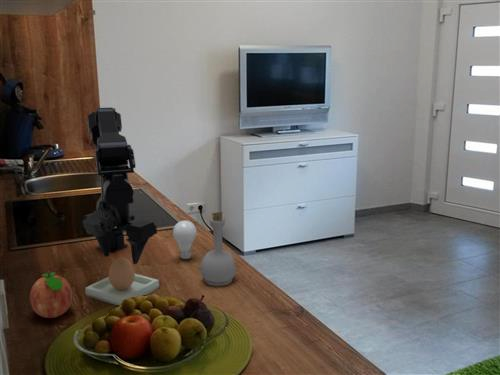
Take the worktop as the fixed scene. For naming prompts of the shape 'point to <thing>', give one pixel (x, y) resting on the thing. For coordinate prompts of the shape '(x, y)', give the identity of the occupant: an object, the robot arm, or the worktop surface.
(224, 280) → the potion bottle
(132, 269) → the egg
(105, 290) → the dish
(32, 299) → the fruit
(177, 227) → the lightbulb
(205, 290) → the worktop surface
